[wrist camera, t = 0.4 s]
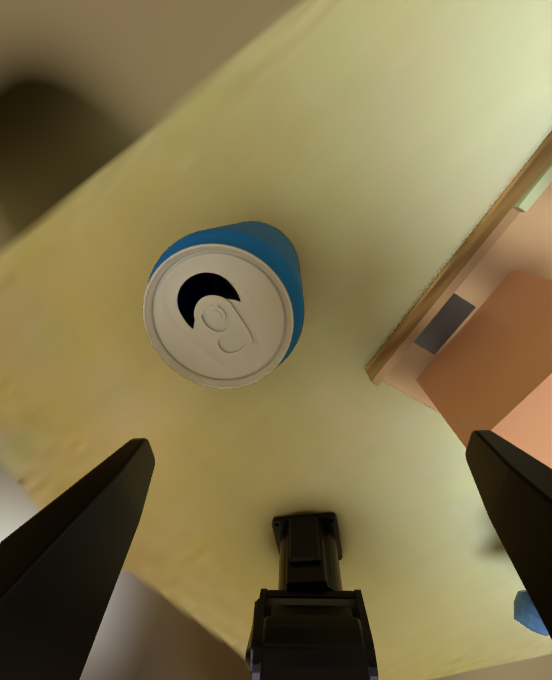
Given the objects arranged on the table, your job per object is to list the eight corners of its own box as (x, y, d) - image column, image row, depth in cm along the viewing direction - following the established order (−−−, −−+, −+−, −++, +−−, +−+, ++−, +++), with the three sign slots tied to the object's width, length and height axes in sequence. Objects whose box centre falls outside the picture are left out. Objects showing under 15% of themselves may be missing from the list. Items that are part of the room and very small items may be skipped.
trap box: (488, 438, 27) (515, 469, 24) (364, 368, 25) (375, 391, 22) (718, 224, 20) (800, 226, 17) (571, 105, 18) (632, 82, 15)
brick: (469, 411, 26) (541, 491, 18) (416, 380, 25) (468, 451, 17) (570, 310, 22) (710, 358, 15) (512, 270, 21) (628, 300, 14)
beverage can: (270, 202, 21) (244, 190, 10) (315, 285, 23) (336, 354, 12) (192, 252, 22) (94, 290, 11) (241, 326, 24) (197, 421, 13)
